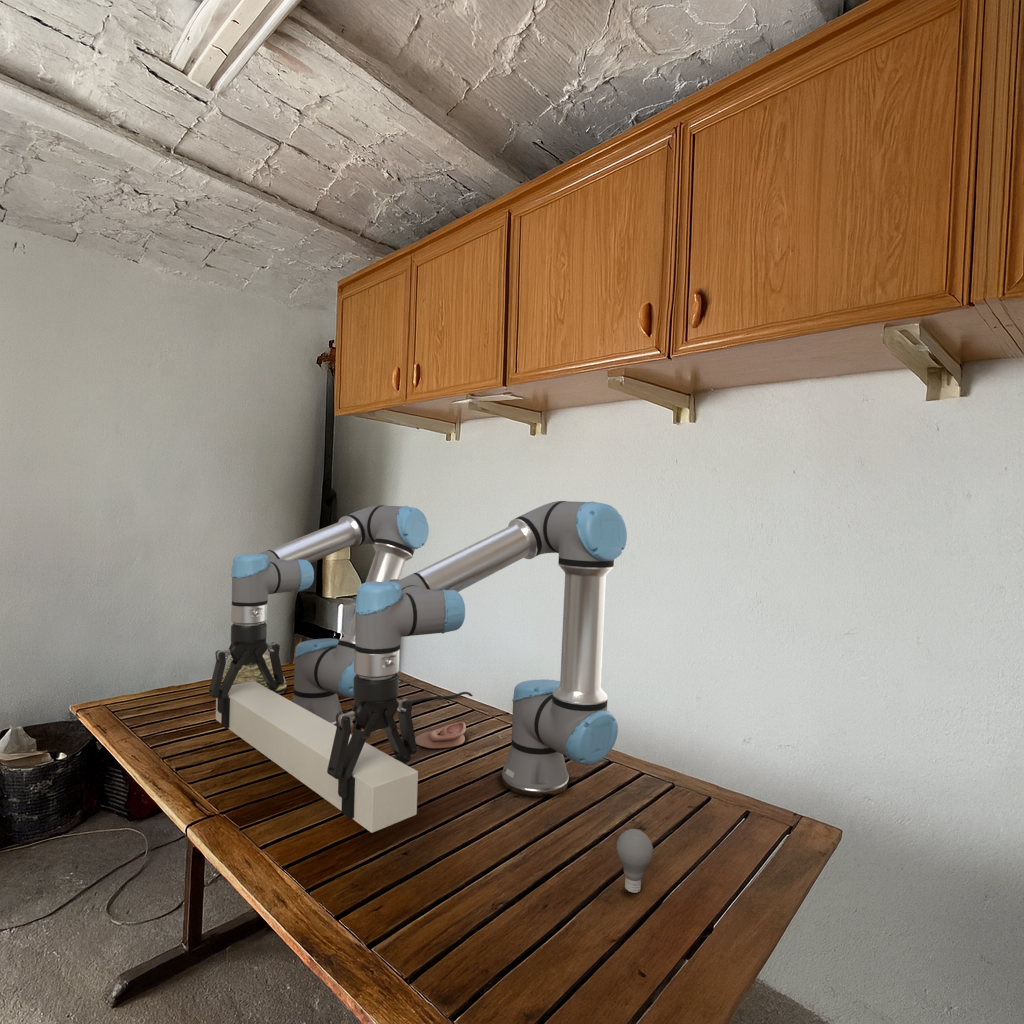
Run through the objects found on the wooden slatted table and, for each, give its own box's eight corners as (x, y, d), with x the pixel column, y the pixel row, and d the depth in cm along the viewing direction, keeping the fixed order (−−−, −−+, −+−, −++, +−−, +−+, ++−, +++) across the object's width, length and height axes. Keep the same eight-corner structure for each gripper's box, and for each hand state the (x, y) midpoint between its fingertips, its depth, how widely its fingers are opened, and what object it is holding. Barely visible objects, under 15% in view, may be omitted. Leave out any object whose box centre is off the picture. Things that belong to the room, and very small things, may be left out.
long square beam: (215, 719, 145) (216, 687, 145) (253, 711, 152) (254, 680, 151) (371, 833, 100) (373, 787, 100) (416, 814, 106) (418, 771, 106)
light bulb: (610, 879, 108) (613, 822, 108) (644, 879, 109) (647, 822, 109) (619, 902, 102) (622, 840, 102) (655, 901, 103) (658, 840, 103)
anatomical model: (408, 730, 163) (423, 715, 174) (407, 745, 163) (422, 730, 174) (457, 736, 160) (469, 721, 171) (457, 752, 160) (469, 735, 171)
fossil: (218, 695, 195) (220, 647, 195) (278, 685, 208) (279, 640, 207) (228, 703, 189) (230, 653, 188) (289, 692, 201) (290, 645, 201)
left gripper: (205, 631, 133) (202, 738, 133) (301, 619, 148) (299, 715, 149) (192, 625, 138) (190, 727, 139) (287, 614, 153) (284, 706, 154)
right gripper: (329, 691, 97) (325, 837, 97) (440, 668, 112) (436, 794, 113) (306, 680, 102) (302, 818, 103) (415, 659, 117) (411, 779, 118)
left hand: (246, 721), depth 144 cm, fingers closed on long square beam, 9 cm apart
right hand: (372, 805), depth 108 cm, fingers closed on long square beam, 9 cm apart
